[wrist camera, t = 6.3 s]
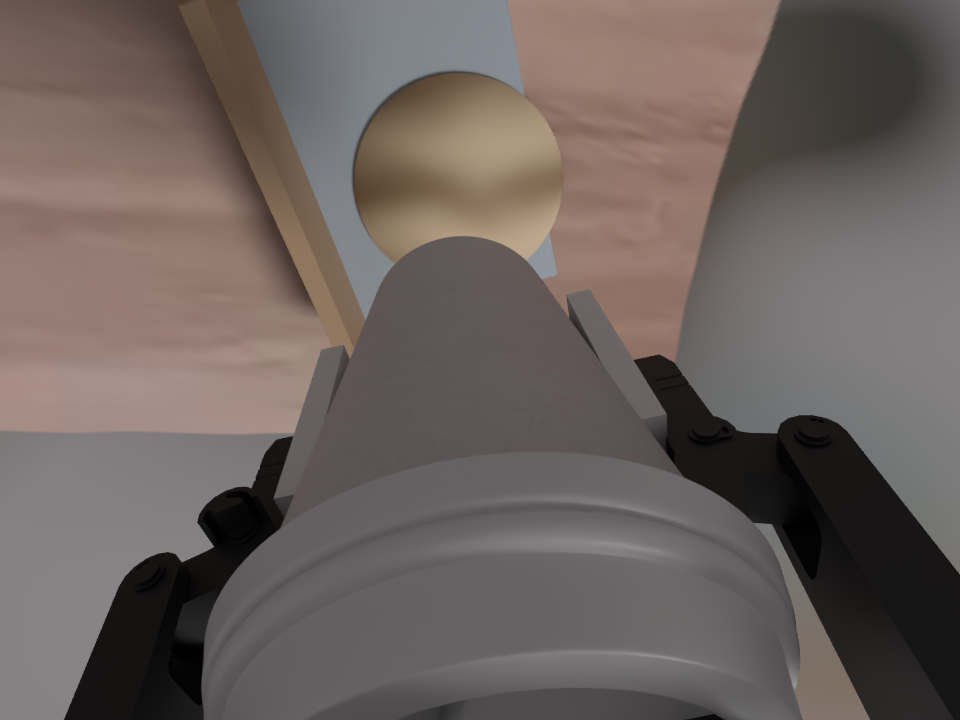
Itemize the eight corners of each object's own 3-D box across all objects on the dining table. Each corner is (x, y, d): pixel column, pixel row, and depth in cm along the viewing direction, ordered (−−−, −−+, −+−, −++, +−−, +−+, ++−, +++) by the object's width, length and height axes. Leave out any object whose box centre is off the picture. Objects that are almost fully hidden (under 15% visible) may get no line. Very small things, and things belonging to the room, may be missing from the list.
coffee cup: (403, 131, 17) (329, 468, 4) (642, 272, 20) (1026, 713, 7) (288, 367, 21) (69, 914, 8) (503, 454, 24) (592, 949, 11)
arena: (208, -19, 29) (162, -26, 24) (486, -102, 28) (501, -128, 23) (352, 323, 40) (342, 368, 35) (554, 270, 39) (574, 308, 34)
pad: (321, 107, 32) (321, 108, 31) (542, 45, 31) (543, 45, 31) (394, 304, 39) (393, 306, 38) (575, 256, 38) (576, 258, 38)
